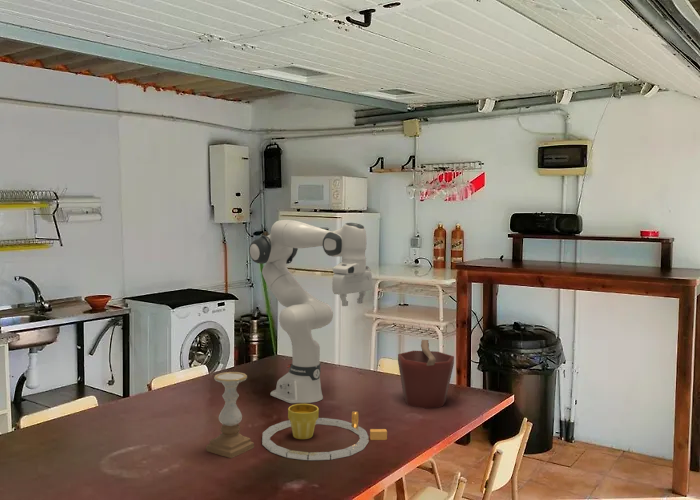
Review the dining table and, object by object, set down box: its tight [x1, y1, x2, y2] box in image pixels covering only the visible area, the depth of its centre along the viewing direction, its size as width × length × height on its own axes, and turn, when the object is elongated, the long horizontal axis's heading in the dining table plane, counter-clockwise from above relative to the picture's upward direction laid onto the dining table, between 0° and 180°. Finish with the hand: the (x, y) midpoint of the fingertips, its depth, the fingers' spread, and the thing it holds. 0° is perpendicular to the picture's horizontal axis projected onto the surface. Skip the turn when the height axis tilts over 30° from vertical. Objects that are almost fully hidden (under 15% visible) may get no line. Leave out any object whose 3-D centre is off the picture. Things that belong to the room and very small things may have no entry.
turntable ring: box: [261, 410, 370, 461], centre depth 209 cm, size 35×35×6 cm
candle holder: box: [205, 371, 255, 459], centre depth 199 cm, size 11×11×24 cm
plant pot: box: [287, 403, 320, 440], centre depth 212 cm, size 10×10×10 cm
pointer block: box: [369, 428, 388, 441], centre depth 211 cm, size 6×2×3 cm, turn 95°
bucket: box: [397, 339, 455, 409], centre depth 254 cm, size 24×22×25 cm
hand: (352, 304), depth 231 cm, fingers open, 8 cm apart
